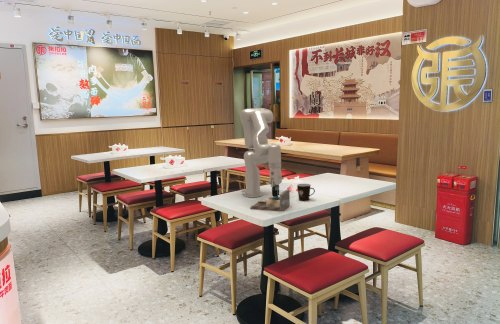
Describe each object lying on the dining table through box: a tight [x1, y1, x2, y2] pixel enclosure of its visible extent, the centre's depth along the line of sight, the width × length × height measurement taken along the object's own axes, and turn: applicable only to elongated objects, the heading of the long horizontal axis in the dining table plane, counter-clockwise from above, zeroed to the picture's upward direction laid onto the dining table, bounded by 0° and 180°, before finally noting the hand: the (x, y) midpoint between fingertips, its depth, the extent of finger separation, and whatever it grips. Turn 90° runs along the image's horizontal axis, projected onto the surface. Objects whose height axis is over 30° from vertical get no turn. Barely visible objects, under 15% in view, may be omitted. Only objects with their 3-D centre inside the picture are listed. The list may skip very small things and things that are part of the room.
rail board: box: [249, 189, 291, 212], centre depth 231 cm, size 21×13×10 cm, turn 68°
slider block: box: [265, 196, 280, 208], centre depth 230 cm, size 9×9×4 cm
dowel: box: [272, 187, 279, 200], centre depth 229 cm, size 3×3×8 cm
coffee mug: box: [296, 183, 316, 202], centre depth 245 cm, size 12×9×10 cm
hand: (275, 195), depth 229 cm, fingers closed on dowel, 2 cm apart
